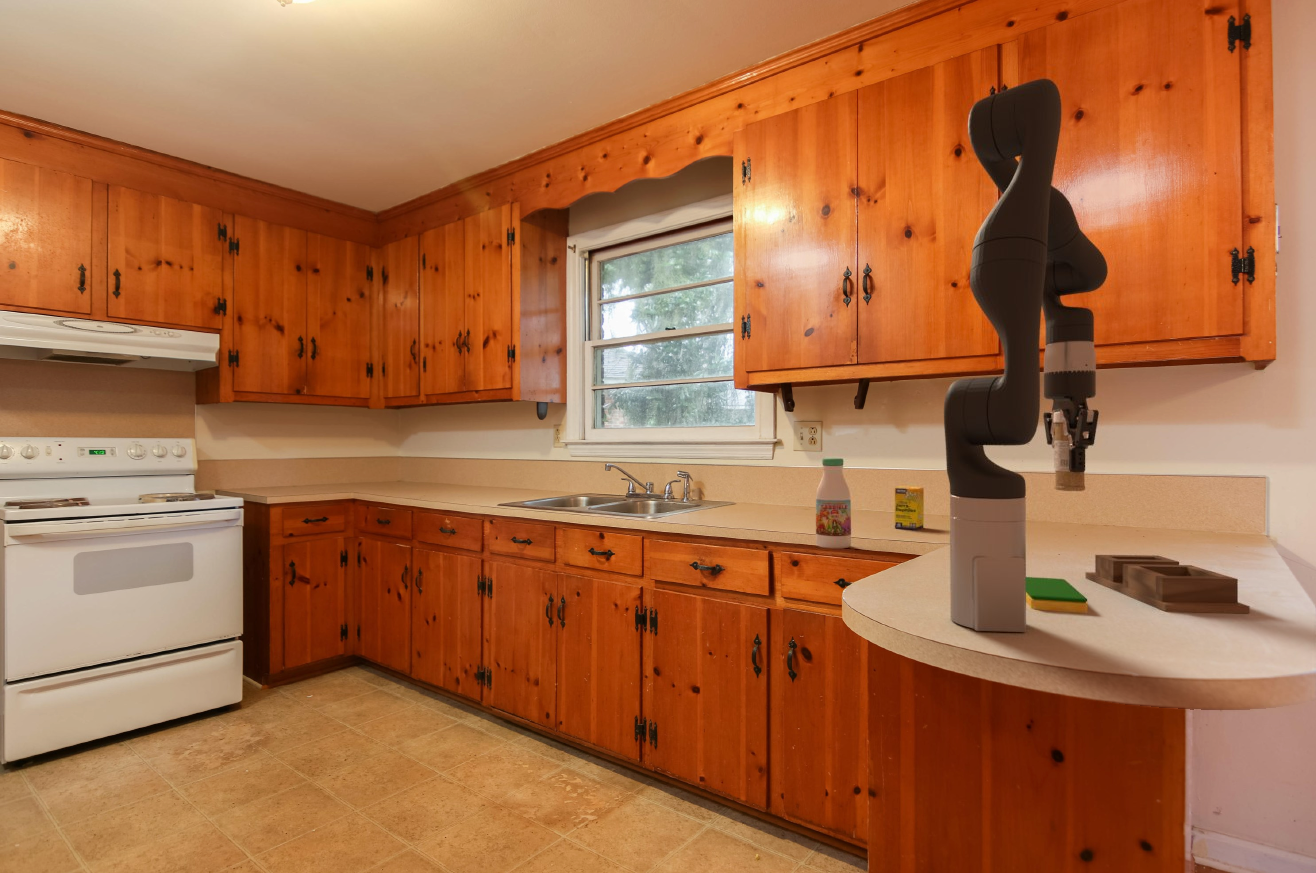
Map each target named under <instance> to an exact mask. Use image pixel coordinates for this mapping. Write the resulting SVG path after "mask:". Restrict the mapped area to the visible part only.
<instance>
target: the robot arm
mask: <svg viewBox="0 0 1316 873" xmlns="http://www.w3.org/2000/svg"><path fill="white" fill-rule="evenodd" d="M1061 124H1062V99H1061V94H1060V91H1059V88H1058V86H1057V84H1056V83H1055V82H1054V81H1053V80H1052V79H1049V78H1039V79H1034V80H1030V81H1028V82H1025V83H1022V84H1020V85H1016V86H1013V87H1011V88H1008V89H1006V90H1003V91H1000V92H997V93H993V94H991V95H989V96H986V97H984V98H982V99H980V100H978V101H977V102H975V103H974V104H973V105H972V107H971V109H970V112H969V114H968V121H967V133H968V138H969V143H970V145H971V148H972V150H973V153H974V154H975V156H976V158H977V160H978V161H979V163H980V165H981V166H982V167H983V169H984V170H985V172H986V173H987V174H988V176H989V177H990V179H991V180H992V182H993V184H994V185H995V186H996V188H997V189H998V190H999V191H1000V193H1001V195H1002V196H1001V197H1000V198H999V199H998V201H997V202H996V203H995V205H994V206H993V208H992V209H991V211H990V212H989V213H988V215H987V216H986V217H985V219H984V221H983V222H982V224H981V226H980V227H979V229H978V230H977V233H976V235H975V238H974V240H973V241H974V242H973V244H972V251H971V253H972V254H971V261H970V262H971V263H970V273H969V286H970V291H971V293H972V296H973V298H974V299H975V301H976V303H977V304H978V306H979V307H980V310H981V311H982V313H983V314H984V315H985V316H986V318H987V319H988V321H989V322H990V324H991V326H992V327H993V329H994V330H995V331H996V334H997V335H998V338H999V340H1000V343H1001V345H1002V349H1003V356H1004V369H1003V370H1004V372H1003V374H1002V376H989V377H988V376H986V377H972V378H963V379H962V378H960V379H958V380H957V379H956V380H955V381H953V382H952V383H951V384H950V385H949V387H948V389H947V390H946V393H945V398H944V404H943V426H944V440H945V455H946V457H945V459H946V460H945V461H946V475H947V477H948V481H949V482H948V483H949V510H950V511H949V550H950V551H949V552H950V553H949V554H950V555H949V558H950V559H949V561H950V562H949V567H950V568H949V569H950V570H949V575H950V578H949V580H950V581H949V582H950V584H949V585H950V588H949V589H950V620H951V621H952V622H954V623H956V624H958V625H961V626H964V627H967V628H971V629H973V630H974V631H976V632H977V631H978V632H1011V633H1015V632H1016V633H1025V632H1026V628H1027V602H1026V577H1027V576H1026V575H1027V570H1026V569H1027V547H1026V545H1027V544H1026V542H1027V539H1026V538H1027V537H1026V532H1027V531H1026V530H1027V529H1026V528H1027V527H1026V526H1027V525H1026V524H1027V523H1026V519H1027V514H1026V513H1027V512H1026V511H1027V508H1026V506H1027V502H1026V500H1027V499H1026V498H1027V497H1026V495H1027V493H1026V491H1027V490H1026V485H1027V484H1026V479H1025V477H1024V476H1023V475H1021V474H1020V473H1018V472H1015V471H1012V470H1010V469H1008V468H1005V467H1003V466H1001V465H998V464H997V463H995V462H994V461H992V460H991V459H990V458H989V457H988V456H987V455H986V452H985V449H984V448H985V447H984V446H1002V447H1003V446H1004V447H1005V446H1006V447H1007V446H1010V447H1011V446H1023V445H1026V444H1028V443H1030V442H1031V441H1032V440H1033V438H1034V437H1035V435H1036V432H1037V429H1038V425H1039V419H1040V410H1041V408H1040V407H1041V403H1040V402H1041V380H1040V379H1041V377H1040V376H1041V372H1040V371H1041V370H1040V368H1041V366H1040V365H1041V364H1040V360H1041V359H1040V357H1041V356H1040V337H1041V336H1040V334H1041V317H1042V311H1043V317H1044V322H1045V326H1044V327H1045V346H1044V349H1045V350H1044V357H1043V397H1044V398H1045V400H1046V399H1047V400H1052V401H1053V402H1052V406H1051V411H1050V412H1043V414H1042V415H1043V416H1042V417H1043V423H1044V424H1043V425H1044V430H1045V438H1046V444H1047V445H1048V446H1049V445H1050V446H1051V448H1052V449H1054V450H1055V425H1054V424H1055V423H1054V413H1055V412H1060V413H1061V419H1062V420H1063V423H1062V424H1063V431H1064V435H1065V436H1066V437H1068V442H1069V448H1070V449H1072V450H1069V470H1070V471H1071V472H1084V473H1085V471H1086V450H1088V449H1089V446H1092V447H1093V446H1094V444H1095V439H1096V434H1097V427H1098V422H1099V421H1098V420H1099V415H1100V414H1099V413H1100V412H1099V410H1098V409H1090V408H1089V406H1088V401H1087V400H1088V399H1093V398H1095V397H1096V394H1097V393H1096V389H1097V383H1096V382H1097V380H1096V375H1097V374H1096V373H1097V370H1096V369H1097V368H1096V367H1097V365H1096V361H1097V360H1096V359H1097V357H1096V356H1097V355H1096V350H1095V326H1094V324H1095V318H1094V312H1093V311H1092V310H1091V309H1090V308H1088V307H1081V306H1068V305H1064V304H1063V302H1062V299H1061V297H1062V296H1070V295H1077V294H1084V293H1091V292H1093V291H1094V292H1095V291H1096V290H1099V289H1100V288H1101V287H1102V286H1103V285H1104V284H1105V282H1106V280H1107V277H1108V270H1109V269H1108V264H1107V261H1106V258H1105V256H1104V255H1103V253H1102V252H1101V250H1100V248H1098V247H1097V246H1096V245H1095V244H1094V243H1093V242H1092V241H1091V240H1090V238H1088V237H1087V235H1085V233H1084V232H1083V231H1082V230H1081V228H1080V226H1079V223H1078V220H1077V217H1076V215H1075V212H1074V208H1073V206H1072V204H1071V202H1070V201H1069V199H1068V198H1067V197H1066V195H1065V194H1064V193H1062V192H1061V191H1060V190H1059V189H1058V188H1056V187H1055V186H1053V185H1052V184H1053V182H1052V181H1053V176H1054V171H1055V164H1056V163H1055V162H1056V158H1057V152H1058V146H1059V140H1060V135H1061V134H1060V133H1061V126H1062V125H1061ZM1017 157H1020V158H1019V160H1017ZM1070 428H1071V429H1070ZM1074 428H1077V429H1076V430H1072V429H1074ZM1074 436H1075V438H1074Z"/></svg>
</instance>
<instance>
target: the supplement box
mask: <svg viewBox="0 0 1316 873" xmlns="http://www.w3.org/2000/svg"><path fill="white" fill-rule="evenodd" d="M924 488H925V487H922V486H921V487H916V486H903V485H901V486H896V487H895V488H894V529H899V530H902V529H903V530H913V531H919V530H922V529H923V528H924V520H925V519H924V517H925V516H924V508H925V507H924V493H925V492H924Z"/></svg>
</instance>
